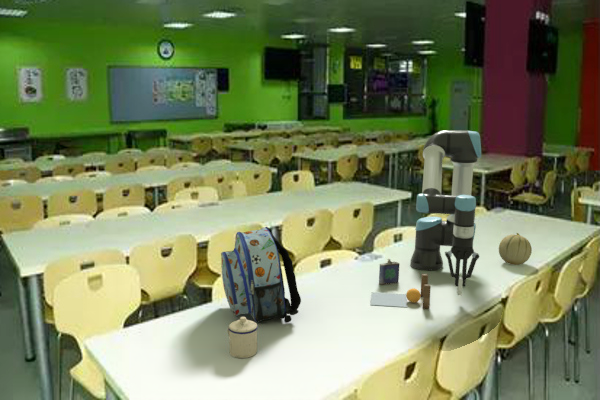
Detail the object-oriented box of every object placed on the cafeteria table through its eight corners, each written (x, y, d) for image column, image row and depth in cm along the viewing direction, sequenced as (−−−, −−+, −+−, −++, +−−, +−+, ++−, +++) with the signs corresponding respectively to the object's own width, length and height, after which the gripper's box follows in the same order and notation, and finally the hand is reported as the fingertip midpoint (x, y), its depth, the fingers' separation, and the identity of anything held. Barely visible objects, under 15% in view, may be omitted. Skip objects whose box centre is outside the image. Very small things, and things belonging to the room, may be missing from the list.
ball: (411, 301, 224) (403, 290, 224) (422, 294, 223) (415, 283, 222) (411, 307, 219) (403, 296, 219) (423, 300, 218) (415, 289, 217)
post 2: (422, 306, 217) (423, 284, 215) (429, 306, 216) (430, 284, 215) (422, 309, 214) (423, 286, 213) (429, 309, 214) (430, 286, 212)
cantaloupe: (499, 267, 266) (501, 236, 263) (496, 258, 280) (498, 229, 277) (532, 270, 263) (535, 238, 260) (527, 261, 277) (530, 231, 274)
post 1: (420, 295, 229) (421, 273, 227) (426, 295, 229) (427, 274, 227) (420, 297, 227) (421, 275, 225) (427, 297, 226) (428, 276, 224)
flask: (380, 285, 240) (381, 261, 238) (377, 283, 243) (378, 259, 241) (399, 283, 243) (400, 259, 241) (396, 281, 246) (397, 257, 244)
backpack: (212, 300, 221) (210, 222, 215) (274, 292, 230) (274, 218, 224) (233, 334, 191) (231, 244, 185) (302, 323, 200) (303, 238, 194)
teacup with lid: (263, 352, 178) (263, 317, 176) (241, 362, 171) (240, 326, 169) (239, 340, 186) (239, 307, 184) (217, 349, 180) (216, 314, 178)
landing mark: (371, 292, 231) (371, 292, 231) (406, 294, 229) (406, 294, 229) (370, 305, 218) (370, 304, 218) (407, 307, 216) (407, 307, 216)
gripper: (446, 237, 212) (443, 296, 217) (482, 239, 210) (478, 298, 215) (444, 232, 219) (441, 289, 224) (479, 234, 217) (475, 291, 222)
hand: (459, 294), depth 219 cm, fingers closed
